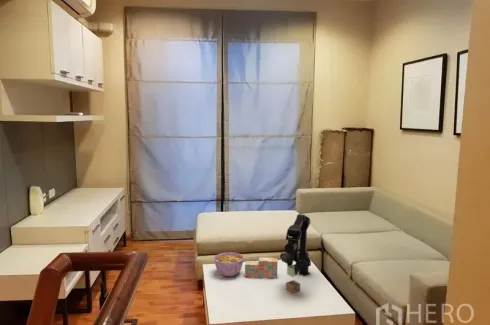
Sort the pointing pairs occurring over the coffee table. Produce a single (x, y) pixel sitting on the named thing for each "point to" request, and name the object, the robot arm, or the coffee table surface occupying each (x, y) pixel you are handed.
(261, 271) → the stack of blocks
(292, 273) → the sage cube
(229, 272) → the bowl of food
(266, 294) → the coffee table surface
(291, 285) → the walnut base
